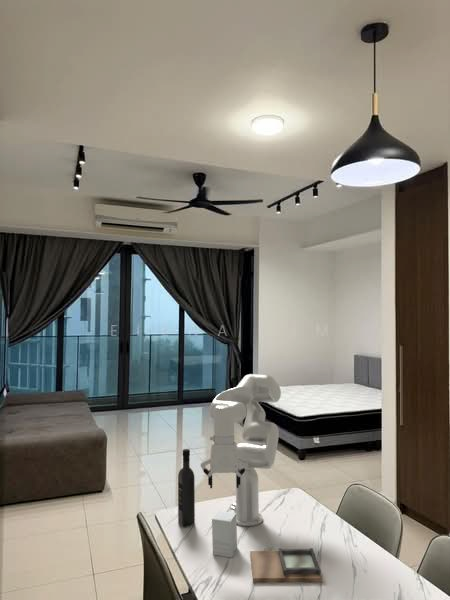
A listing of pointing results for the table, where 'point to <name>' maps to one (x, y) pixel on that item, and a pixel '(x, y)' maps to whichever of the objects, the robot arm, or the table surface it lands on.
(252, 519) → the robot arm
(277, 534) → the table surface
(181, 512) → the wine bottle
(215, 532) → the supplement box
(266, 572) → the board
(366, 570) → the table surface
